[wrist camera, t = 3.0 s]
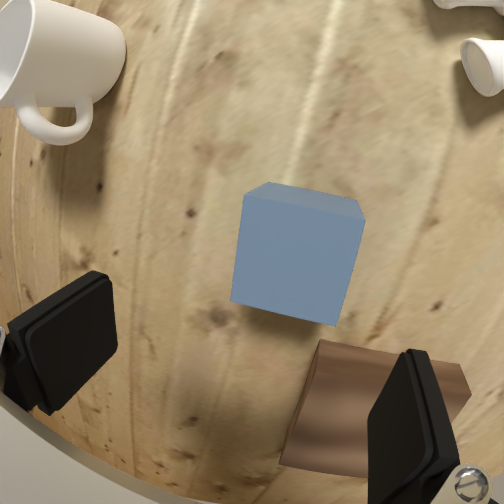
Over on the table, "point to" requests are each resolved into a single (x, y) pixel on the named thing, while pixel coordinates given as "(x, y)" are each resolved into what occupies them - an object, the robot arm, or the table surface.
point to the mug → (56, 64)
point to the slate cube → (296, 251)
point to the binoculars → (481, 52)
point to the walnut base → (350, 407)
